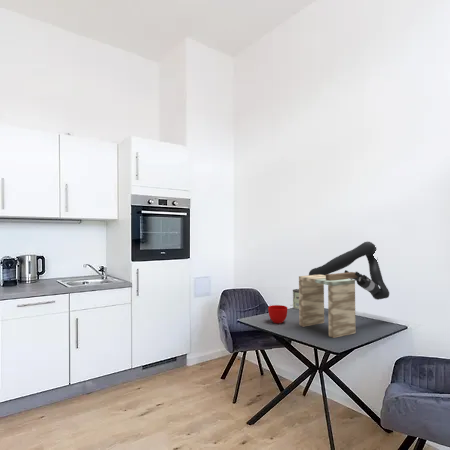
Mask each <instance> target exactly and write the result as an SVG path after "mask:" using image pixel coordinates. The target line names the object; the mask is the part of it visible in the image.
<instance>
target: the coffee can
mask: <svg viewBox="0 0 450 450" xmlns="http://www.w3.org/2000/svg"><path fill="white" fill-rule="evenodd" d="M292 308H293V309H294V310H299V288H296V289H294V288H293V289H292Z"/></svg>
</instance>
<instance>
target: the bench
mask: <svg viewBox="0 0 450 450" xmlns="http://www.w3.org/2000/svg"><path fill="white" fill-rule="evenodd" d="M325 286H327V301H328V302H327V303H328V304H327V306H328V308H327V309H328V310H327V311H328V312H327V313H328V315H327V316H328V318H327V319H328V337H329V338H333V339H335V338H339V337H345V336H350V335H353V334H356V330H357V329H356V327H357V326H356V281H355V280H354V279H353V280H351V279H341V280H332V281H330V280H326V275H320V274H318V275H309V274H308V275H300V276H298V289H299V309H298V310H299V311H298V315H299V317H298V321H299V322H298V323H299V326H301V327H303V328H304V327H309V326H316V325H321V324H325Z"/></svg>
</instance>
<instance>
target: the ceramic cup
mask: <svg viewBox="0 0 450 450" xmlns="http://www.w3.org/2000/svg"><path fill="white" fill-rule="evenodd" d="M267 310H268V316H269V318H270V320H271V321H272V323H274V324H283V323H284V322H285V320H286V318H287V316H288V307H287V306H286V305H279V304H274V305H272V304H271V305H268V309H267Z"/></svg>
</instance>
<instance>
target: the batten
mask: <svg viewBox="0 0 450 450" xmlns="http://www.w3.org/2000/svg"><path fill="white" fill-rule="evenodd" d="M355 272H356V271H355ZM355 272H353V271H348V272H347V273H344V272H338V273H330V274H326V280H330V281H332V280H341V279H350V278H357V276H356V275H355Z"/></svg>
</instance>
